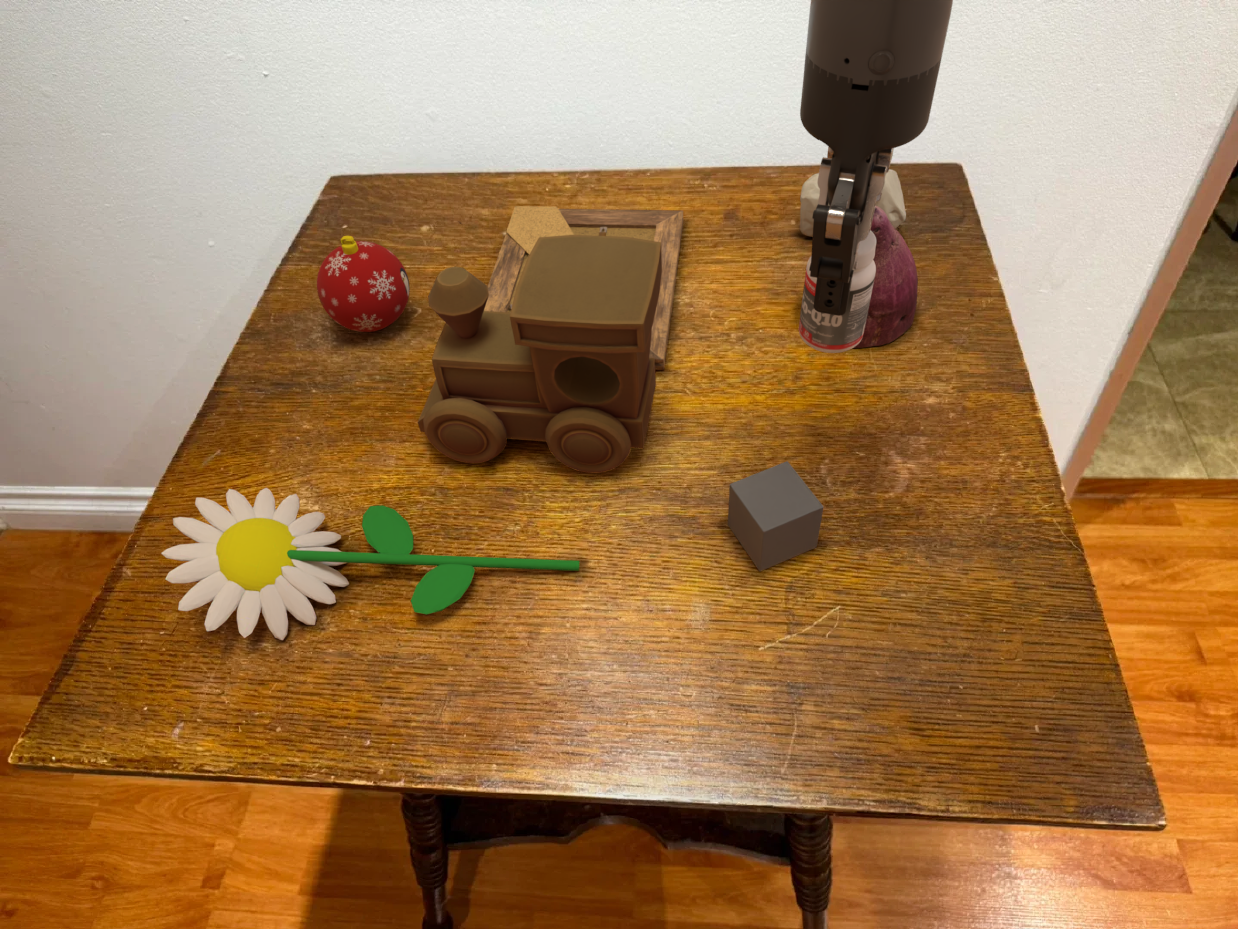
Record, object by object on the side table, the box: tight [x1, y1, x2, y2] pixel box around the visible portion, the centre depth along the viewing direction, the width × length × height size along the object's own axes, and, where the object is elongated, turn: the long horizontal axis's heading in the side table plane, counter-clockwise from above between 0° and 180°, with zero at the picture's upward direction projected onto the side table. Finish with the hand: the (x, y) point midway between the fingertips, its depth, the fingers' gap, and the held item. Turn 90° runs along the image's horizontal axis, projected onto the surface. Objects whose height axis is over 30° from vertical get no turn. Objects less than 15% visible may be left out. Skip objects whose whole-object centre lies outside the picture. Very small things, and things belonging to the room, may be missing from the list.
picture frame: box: [484, 205, 684, 371], centre depth 90 cm, size 19×2×24 cm
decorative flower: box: [160, 487, 580, 641], centre depth 67 cm, size 13×5×30 cm
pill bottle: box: [798, 230, 876, 354], centre depth 63 cm, size 5×5×8 cm
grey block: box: [727, 460, 825, 572], centre depth 67 cm, size 5×5×5 cm
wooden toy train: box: [417, 235, 662, 474], centre depth 71 cm, size 20×11×17 cm, turn 81°
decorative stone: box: [799, 168, 907, 238], centre depth 92 cm, size 11×9×10 cm
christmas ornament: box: [316, 235, 410, 333], centre depth 85 cm, size 9×9×10 cm
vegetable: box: [853, 206, 919, 349], centre depth 80 cm, size 10×10×15 cm
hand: (837, 286), depth 63 cm, fingers closed on pill bottle, 4 cm apart
